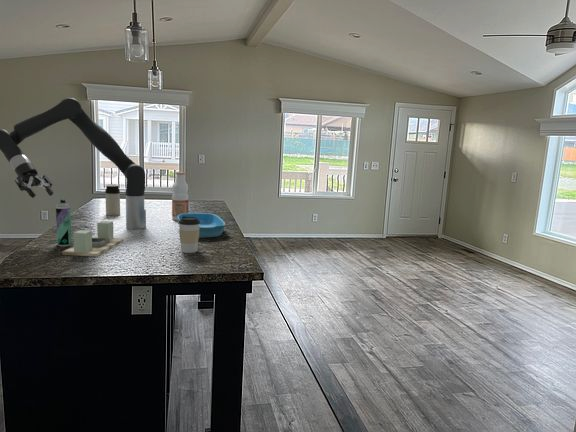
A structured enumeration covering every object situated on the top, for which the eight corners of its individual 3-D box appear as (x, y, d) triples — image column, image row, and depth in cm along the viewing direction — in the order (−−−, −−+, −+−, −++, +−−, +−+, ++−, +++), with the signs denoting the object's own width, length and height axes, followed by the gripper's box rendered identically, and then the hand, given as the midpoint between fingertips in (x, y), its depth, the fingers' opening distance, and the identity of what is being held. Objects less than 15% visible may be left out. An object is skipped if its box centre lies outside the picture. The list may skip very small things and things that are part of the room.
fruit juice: (169, 218, 253) (169, 171, 248) (183, 217, 259) (183, 171, 254) (177, 221, 246) (177, 173, 241) (191, 220, 253) (191, 172, 248)
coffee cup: (203, 249, 189) (204, 216, 187) (192, 254, 181) (193, 220, 178) (185, 247, 192) (186, 214, 190) (174, 251, 184) (174, 217, 181)
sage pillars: (102, 237, 196) (102, 220, 195) (113, 238, 196) (113, 221, 195) (74, 252, 172) (73, 232, 170) (86, 252, 172) (85, 233, 170)
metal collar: (90, 241, 188) (90, 237, 188) (109, 243, 188) (109, 238, 188) (80, 246, 180) (79, 242, 180) (100, 247, 180) (100, 243, 179)
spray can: (60, 243, 188) (58, 198, 185) (73, 243, 189) (72, 198, 185) (55, 246, 183) (53, 200, 179) (68, 246, 183) (66, 200, 180)
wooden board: (93, 239, 197) (93, 237, 197) (123, 241, 197) (123, 238, 197) (62, 254, 172) (62, 251, 171) (96, 256, 171) (96, 253, 171)
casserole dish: (229, 239, 212) (229, 225, 211) (183, 241, 204) (183, 226, 203) (214, 224, 246) (214, 212, 244) (174, 225, 238) (174, 212, 236)
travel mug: (115, 216, 252) (114, 186, 249) (103, 215, 254) (102, 185, 250) (122, 214, 260) (122, 184, 257) (111, 213, 261) (110, 183, 258)
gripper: (11, 162, 180) (32, 191, 178) (41, 161, 193) (61, 188, 191) (3, 173, 183) (24, 202, 181) (34, 172, 196) (53, 199, 194)
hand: (43, 195), depth 186 cm, fingers open, 8 cm apart
